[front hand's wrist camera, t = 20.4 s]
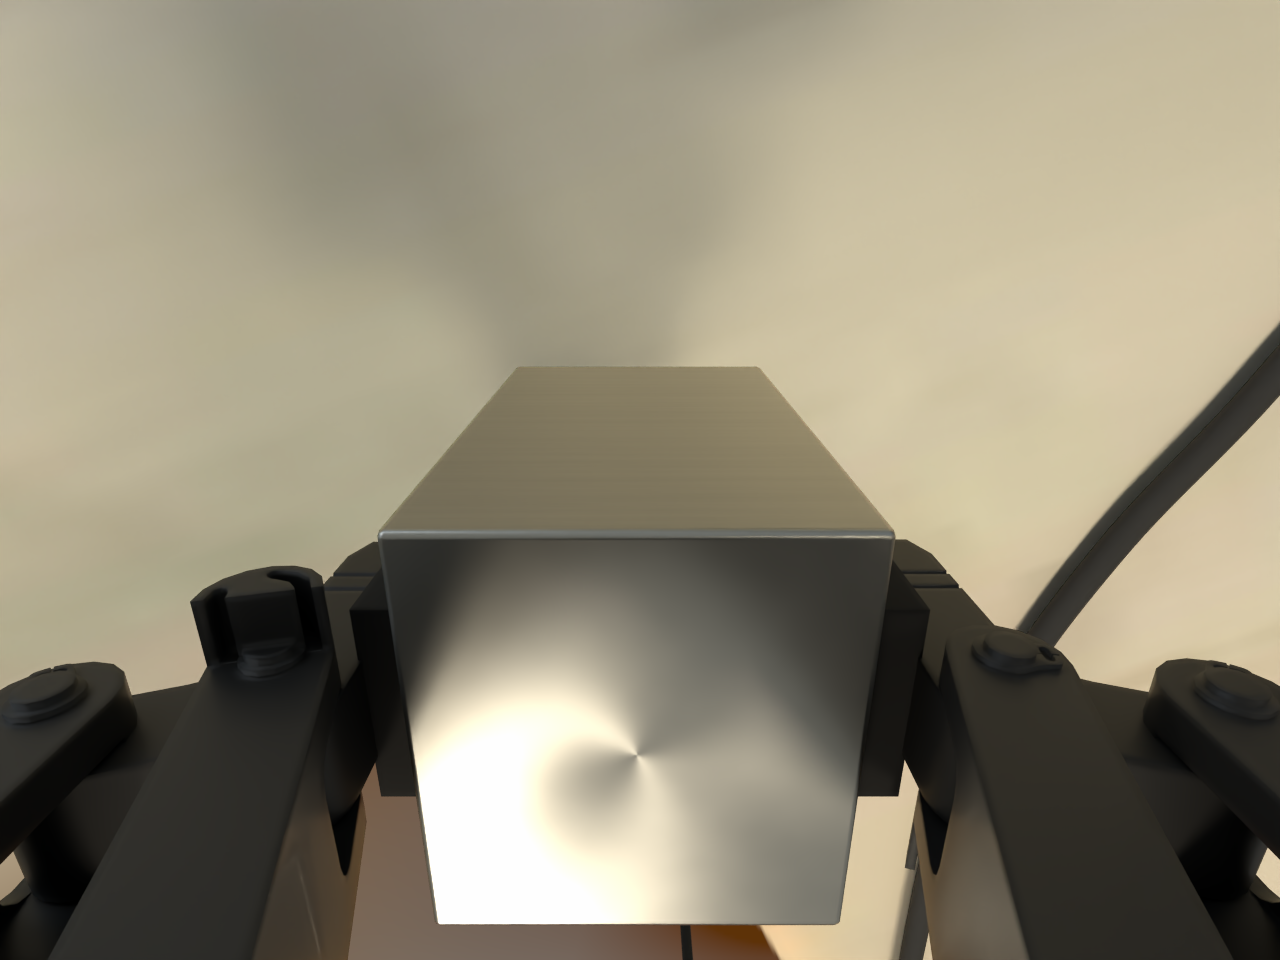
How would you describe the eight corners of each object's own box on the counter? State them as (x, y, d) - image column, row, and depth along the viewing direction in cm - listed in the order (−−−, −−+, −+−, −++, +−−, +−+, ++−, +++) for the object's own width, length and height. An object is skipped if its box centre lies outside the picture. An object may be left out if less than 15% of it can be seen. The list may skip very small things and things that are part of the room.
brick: (760, 366, 14) (900, 531, 7) (746, 594, 16) (841, 929, 8) (516, 366, 14) (372, 531, 7) (531, 594, 16) (433, 928, 8)
